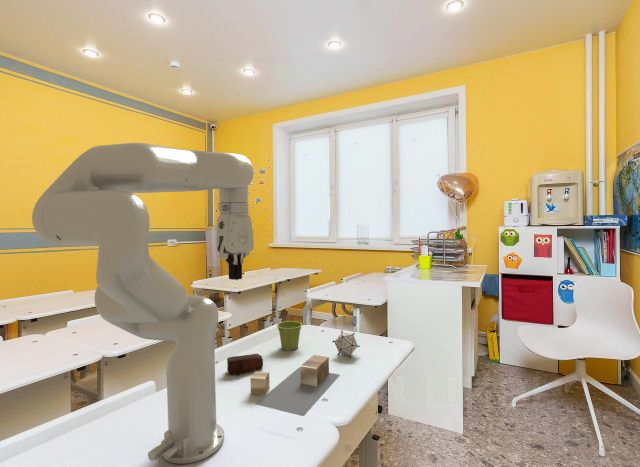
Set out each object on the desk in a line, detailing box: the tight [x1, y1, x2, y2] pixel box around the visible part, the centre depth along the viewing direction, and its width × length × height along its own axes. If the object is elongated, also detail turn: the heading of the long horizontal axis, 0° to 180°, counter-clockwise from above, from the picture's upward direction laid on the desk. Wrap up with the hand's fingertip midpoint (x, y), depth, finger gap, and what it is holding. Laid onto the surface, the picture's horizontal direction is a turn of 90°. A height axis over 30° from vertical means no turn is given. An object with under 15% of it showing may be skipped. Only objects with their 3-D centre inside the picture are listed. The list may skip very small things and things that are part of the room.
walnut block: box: [300, 354, 330, 386], centre depth 102 cm, size 5×5×9 cm
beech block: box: [249, 371, 271, 397], centre depth 94 cm, size 4×4×5 cm
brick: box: [226, 353, 264, 376], centre depth 109 cm, size 11×4×5 cm, turn 111°
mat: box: [255, 367, 341, 417], centre depth 96 cm, size 24×14×1 cm, turn 155°
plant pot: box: [276, 320, 303, 351], centre depth 128 cm, size 9×9×9 cm
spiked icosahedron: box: [332, 330, 361, 358], centre depth 120 cm, size 9×8×10 cm
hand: (235, 278), depth 92 cm, fingers closed
